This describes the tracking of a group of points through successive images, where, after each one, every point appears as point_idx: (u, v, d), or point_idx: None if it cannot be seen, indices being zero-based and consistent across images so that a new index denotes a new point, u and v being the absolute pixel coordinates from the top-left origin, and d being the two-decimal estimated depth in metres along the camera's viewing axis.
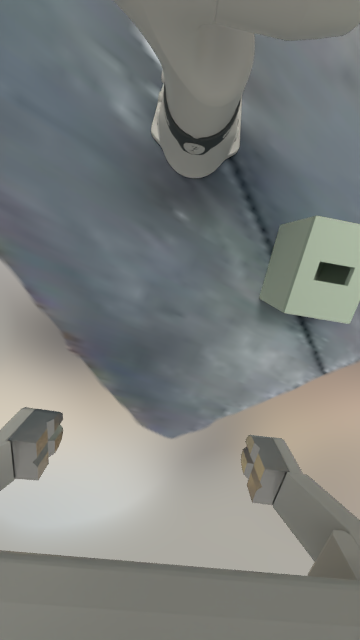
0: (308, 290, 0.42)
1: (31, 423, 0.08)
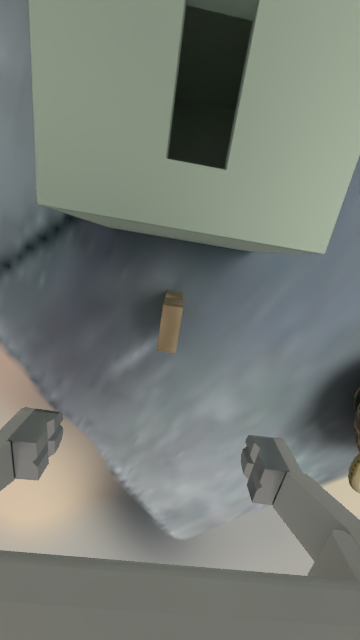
0: None
1: (31, 423, 0.08)
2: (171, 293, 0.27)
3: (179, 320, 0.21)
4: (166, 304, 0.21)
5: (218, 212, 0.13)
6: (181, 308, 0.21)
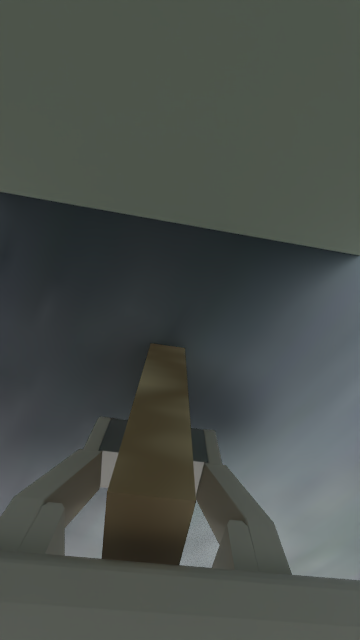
0: None
1: (113, 433, 0.08)
2: (159, 359, 0.11)
3: (179, 537, 0.05)
4: (125, 477, 0.05)
5: None
6: (188, 502, 0.05)
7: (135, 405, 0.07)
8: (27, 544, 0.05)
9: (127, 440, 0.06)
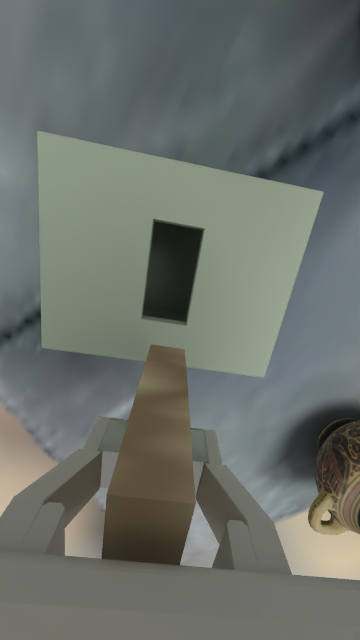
0: (121, 208, 0.14)
1: (113, 433, 0.08)
2: (159, 360, 0.11)
3: (179, 539, 0.05)
4: (124, 479, 0.05)
5: None
6: (187, 505, 0.05)
7: (135, 407, 0.07)
8: (27, 544, 0.05)
9: (127, 442, 0.06)
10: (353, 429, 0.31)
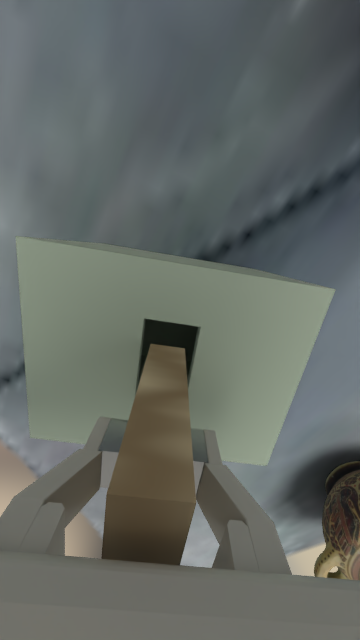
0: (109, 309, 0.13)
1: (113, 433, 0.08)
2: (159, 359, 0.11)
3: (179, 539, 0.05)
4: (124, 479, 0.05)
5: None
6: (188, 505, 0.05)
7: (135, 406, 0.07)
8: (27, 544, 0.05)
9: (127, 441, 0.06)
10: None
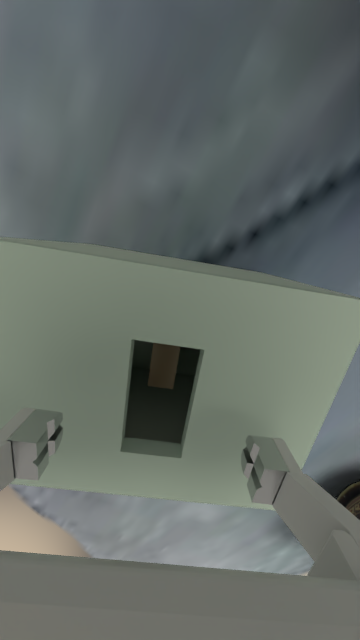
0: (86, 327, 0.10)
1: (31, 423, 0.08)
2: None
3: (178, 346, 0.16)
4: None
5: (175, 485, 0.13)
6: None
7: None
8: None
9: None
10: None
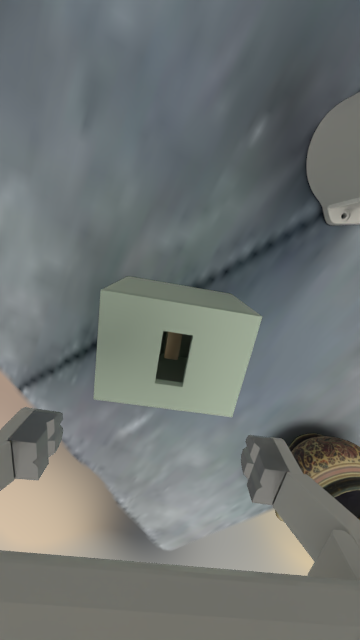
0: (145, 325, 0.24)
1: (31, 423, 0.08)
2: None
3: (180, 336, 0.30)
4: None
5: (179, 401, 0.27)
6: None
7: None
8: None
9: None
10: (309, 444, 0.41)
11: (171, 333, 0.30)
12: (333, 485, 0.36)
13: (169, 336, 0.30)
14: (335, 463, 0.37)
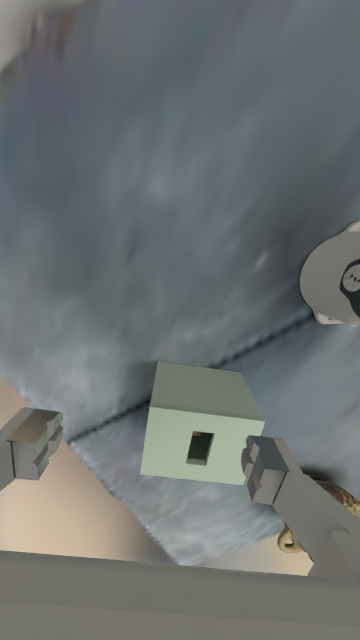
0: (180, 428, 0.33)
1: (31, 423, 0.08)
2: None
3: None
4: None
5: (203, 475, 0.37)
6: None
7: None
8: None
9: None
10: None
11: None
12: None
13: None
14: None
